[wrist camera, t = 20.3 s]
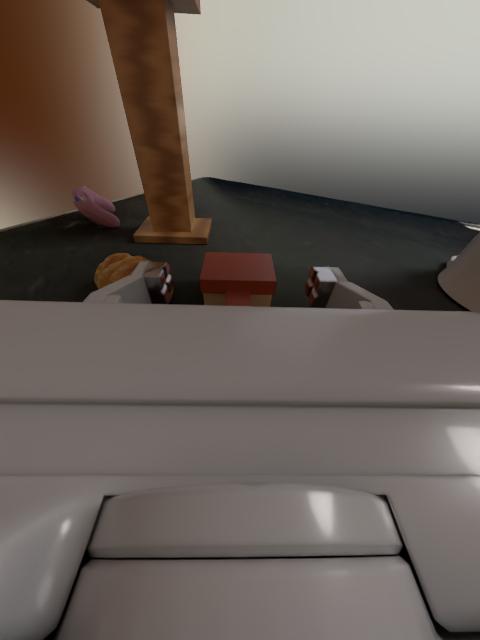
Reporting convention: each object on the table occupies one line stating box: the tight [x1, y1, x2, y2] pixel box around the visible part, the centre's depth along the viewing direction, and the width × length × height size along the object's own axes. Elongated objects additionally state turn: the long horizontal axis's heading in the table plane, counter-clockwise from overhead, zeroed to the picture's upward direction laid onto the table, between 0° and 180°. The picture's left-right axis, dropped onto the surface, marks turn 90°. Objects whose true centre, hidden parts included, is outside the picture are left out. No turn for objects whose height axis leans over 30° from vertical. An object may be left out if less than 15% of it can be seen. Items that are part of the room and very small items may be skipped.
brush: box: [200, 252, 277, 307], centre depth 23 cm, size 8×17×4 cm, turn 1°
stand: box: [87, 0, 212, 244], centre depth 31 cm, size 12×9×26 cm
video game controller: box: [72, 186, 120, 228], centre depth 41 cm, size 10×5×7 cm, turn 27°
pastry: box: [94, 253, 174, 304], centre depth 25 cm, size 9×7×4 cm
